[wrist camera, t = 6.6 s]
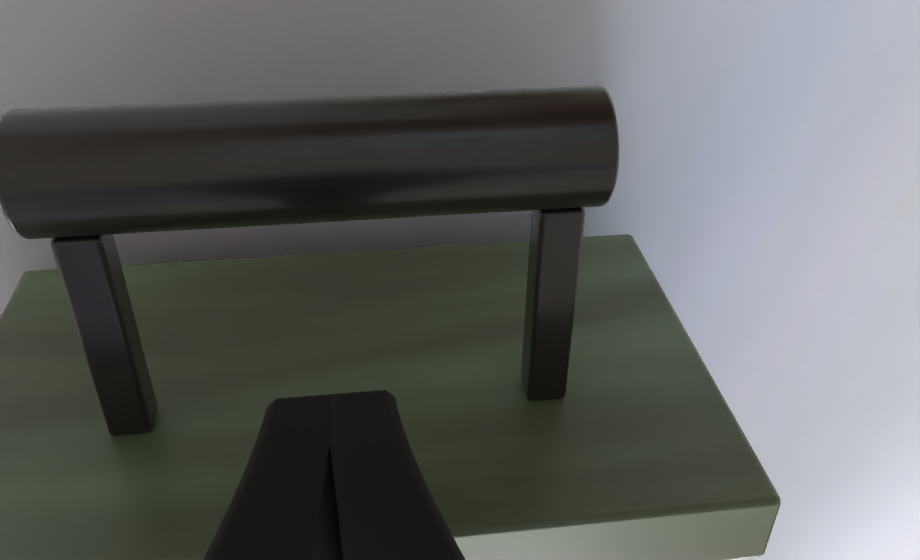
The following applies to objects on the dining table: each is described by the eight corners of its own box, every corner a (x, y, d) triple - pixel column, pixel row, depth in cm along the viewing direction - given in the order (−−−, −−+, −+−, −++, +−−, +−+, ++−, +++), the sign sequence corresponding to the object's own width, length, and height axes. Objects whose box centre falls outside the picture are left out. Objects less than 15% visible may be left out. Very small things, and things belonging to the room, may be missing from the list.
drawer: (-67, 5, 13) (-368, 248, 7) (668, -15, 14) (892, 178, 8) (162, 682, 23) (111, 996, 18) (573, 634, 24) (646, 912, 19)
